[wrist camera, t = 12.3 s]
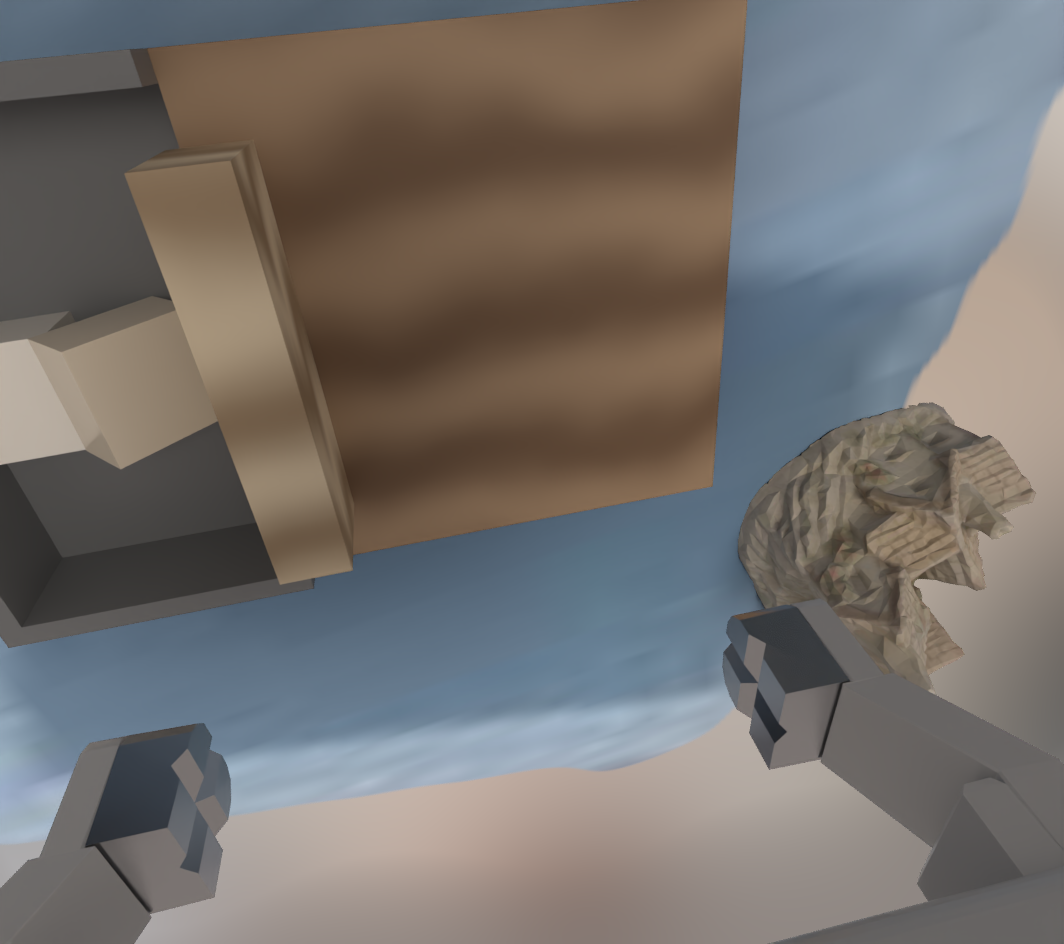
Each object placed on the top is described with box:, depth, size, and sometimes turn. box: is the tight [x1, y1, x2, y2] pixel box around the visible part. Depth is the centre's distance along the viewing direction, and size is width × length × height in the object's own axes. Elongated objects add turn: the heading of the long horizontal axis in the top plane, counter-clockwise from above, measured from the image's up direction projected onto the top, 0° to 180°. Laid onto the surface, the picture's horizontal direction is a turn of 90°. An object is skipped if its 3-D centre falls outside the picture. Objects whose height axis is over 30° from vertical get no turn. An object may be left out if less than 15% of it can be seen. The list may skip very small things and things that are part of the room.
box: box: [0, 49, 315, 648], centre depth 29 cm, size 22×14×6 cm, turn 4°
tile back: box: [0, 311, 86, 465], centre depth 29 cm, size 5×5×3 cm
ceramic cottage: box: [738, 402, 1036, 695], centre depth 41 cm, size 16×16×15 cm
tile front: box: [28, 296, 218, 469], centre depth 28 cm, size 5×5×3 cm
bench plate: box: [147, 0, 747, 555], centre depth 32 cm, size 22×21×4 cm
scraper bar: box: [124, 140, 354, 585], centre depth 27 cm, size 16×3×5 cm, turn 5°
